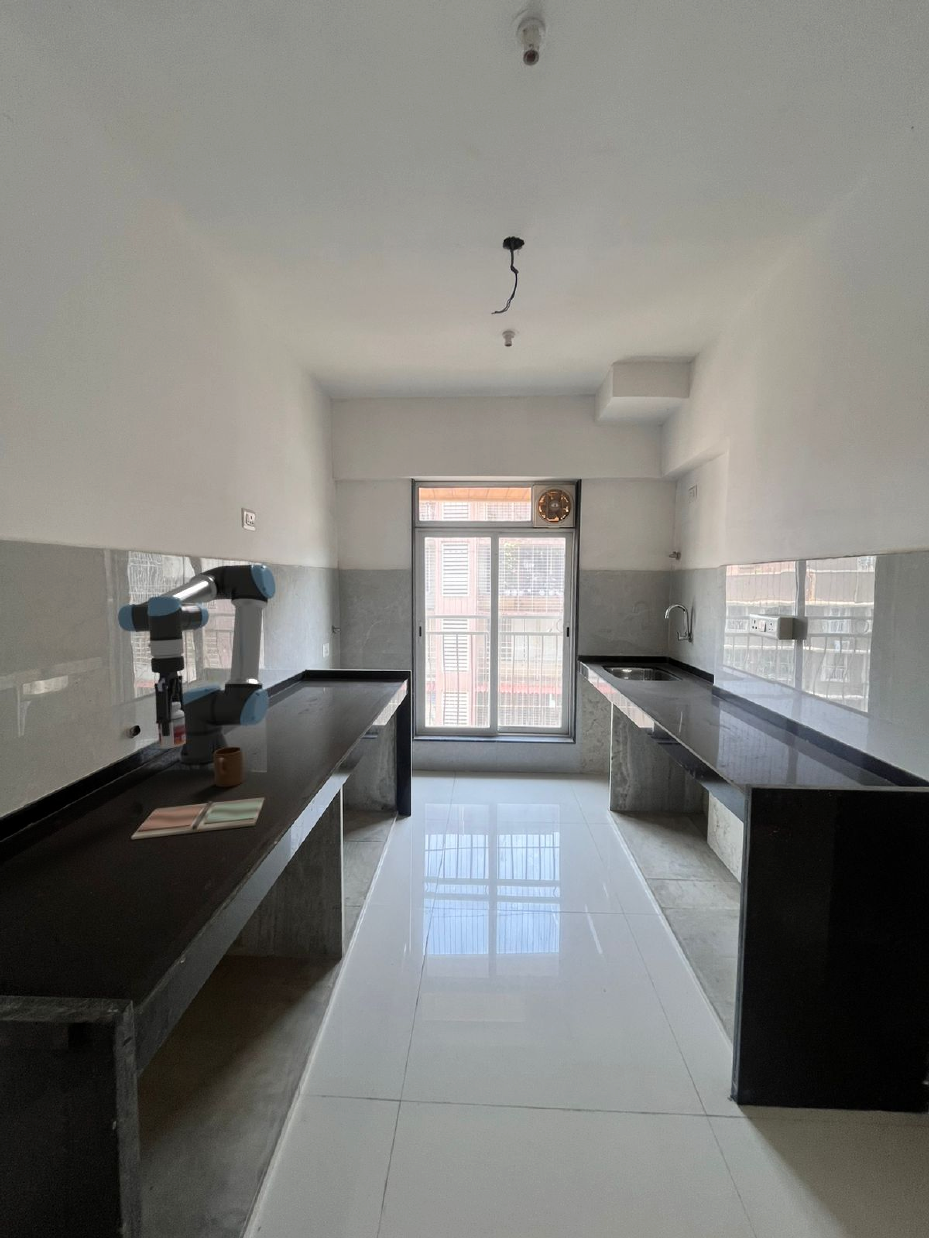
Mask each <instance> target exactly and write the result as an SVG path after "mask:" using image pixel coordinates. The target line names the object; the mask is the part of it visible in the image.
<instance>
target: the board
mask: <svg viewBox="0 0 929 1238" xmlns="http://www.w3.org/2000/svg"><path fill="white" fill-rule="evenodd" d="M264 803H265V797H258V798H257V797H256V798H247V799H246V798H245V799H238V800H227V801H219V802H218V801H216V802H213V801H212V800H208V802H207V803H200V804H189V805H188V804H187V805H180V806H179V805H177V806H169V807H158V808H155V809H153V811H152V812H151V814H150V815H149V816H148V817H147V818H146V819H145V820H144V821H143V823H142V824H141V825H140V826H139V827H138V829H136V831H135V832H134V833H133V835H131V840H139V839H146V838H148V839H149V838H156V837H165V836H166V837H167V836H172V835H173V836H174V835H183V834H191V833H199V832H200V833H201V832H211V831H217V830H226V829H234V828H244V827H252V826H255V825H256V823H257V820H258V818H259V816H260V815H259V814H260V812H261V810H262V807H263V805H264Z"/></svg>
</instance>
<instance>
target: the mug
mask: <svg viewBox="0 0 929 1238" xmlns="http://www.w3.org/2000/svg"><path fill="white" fill-rule="evenodd" d="M243 755H244V754H243V749H242V747H239V746H238V747H237V746H231V747H230V746H229V747H228V748H223V749H219V750H217V751H215V752H214V761H213V769H214V770H213V771H214V782H215V786H217V787H218V788H219V787H220V788H230V787H235V786H238V785H241V783H243V781H244V779H245V776H244V775H245V773H244V756H243Z"/></svg>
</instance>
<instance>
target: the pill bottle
mask: <svg viewBox="0 0 929 1238" xmlns="http://www.w3.org/2000/svg"><path fill="white" fill-rule="evenodd" d="M180 708H181V704H180V702H172V713H171V722H173V733H174V748H179V747H181V746H182V745H184V744H185V743H186V735H185V719H184V712H183V711H182V710H180ZM157 727H158V728H157V731H158V745H159V747H160V748H162V743H161V726H160V724H157Z"/></svg>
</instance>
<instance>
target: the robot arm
mask: <svg viewBox="0 0 929 1238" xmlns="http://www.w3.org/2000/svg"><path fill="white" fill-rule="evenodd" d="M275 594H276V581H275V577H274V575H273V573H272V570H271V569H270V568H269V567H268V566H266V565H265V564H255V563H252V564H241V565H240V564H237V565H235V564H234V565H220V566H217V567H213V568H211V569H207V570H205V571H203V572H200V573H198V574H196V575H193V576H192V577H191V578H190V579H189V581H188V582H186V583H184V584H182V585H180V586H178V587H175V588H172V589H170V590H168V591H166V592H163V593H162V594H160V595H158V596H151V597H149V598H148V600H146V601H145V602H142V603H139V604H137V603H131V604H125V605H123V606H122V607H121V608H120V609H119V611H118V613H117V620H118V625H119V626H120V628H121V629H122V630H123V631H126V632H135V633H139V632H149V644H148V645H147V647H148V648H150V656H152V658H151V659H150V667H151V672H152V673H154V674H159V676H158V677H159V678H158V680H157V683H156V682H155V683H154V685H153V687H154V692H155V714H156V715H155V717H156V719H155V720H156V721H155V724H157V725H158V724H160V726H161V743H162V747H161V750H164V749H174V748H175V747H174V733H173V722H171V713H172V702H180V704H181V708H180V710H182V711H183V712H184V719H185V735H186V743H185V744H184V745H182V746H180V750H179V754H178V757H179V763H182V764H186V765H187V764H189V765H198V764H206V763H207V764H208V763H213V762H214V752H215V751H217V750H219V749H223V748H228V747H230V745H229V742H228V740H227V738H226V736H225V733H224V731H223V727H233V726H234V727H241V726H242V727H248V726H256V725H258V724H260V723H261V722H262V721H263V720H264V718H266V715H267V712H268V709H269V704H270V699H269V698H270V697H269V694H268V691H267V690H265V689H264V688H263V686H264V684H263V683H262V682H261V681H260V680H259V672H260V671H259V670H260V657H261V656H260V654H261V641H262V639H261V638H262V623H263V611H264V609H265V608H266V607H267V606H268V603H269V602H268V601H269V600H271V599H272V598H274V597H275ZM217 600H220V601H221V600H230V603H231V604H232V605H233V606H234V608H235V610H234V623H233V637H232V649H231V650H232V654H231V665H230V666H231V667H230V676H229V677H230V678H229V680H227V681H226V682H225V683H224V689H222V687H221V685H219V684H214V685H213V684H211V685H206V686H201V687H196V688H193V689H190V690H186V691H185V692H184V690H183V675H179V673H178V672H180V671H183V670H185V658H184V657H185V656H183V655H182V654H184V652H185V651H184V650H185V649H184V639H183V632H184V631H196V630H198V629H202V628H204V627H205V626H206V625H207V624H208V622H209V620H210V615H209V614H210V613H209V610H208V609H207V607H206V606H205V605H204V604H205V603H206V604H207V603H210V602H212V601H217ZM202 603H203V604H202Z"/></svg>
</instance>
